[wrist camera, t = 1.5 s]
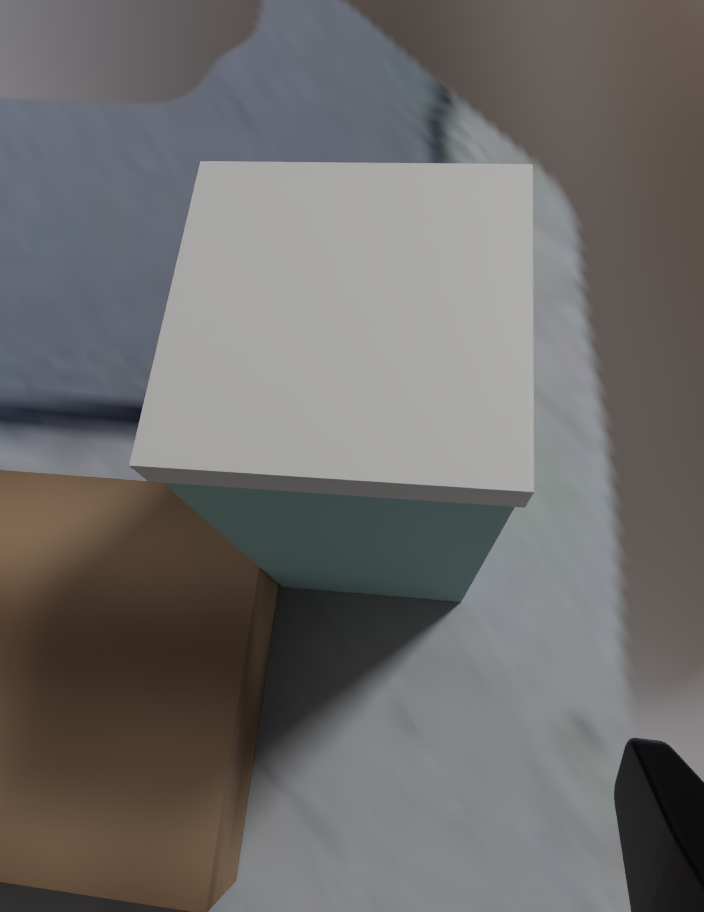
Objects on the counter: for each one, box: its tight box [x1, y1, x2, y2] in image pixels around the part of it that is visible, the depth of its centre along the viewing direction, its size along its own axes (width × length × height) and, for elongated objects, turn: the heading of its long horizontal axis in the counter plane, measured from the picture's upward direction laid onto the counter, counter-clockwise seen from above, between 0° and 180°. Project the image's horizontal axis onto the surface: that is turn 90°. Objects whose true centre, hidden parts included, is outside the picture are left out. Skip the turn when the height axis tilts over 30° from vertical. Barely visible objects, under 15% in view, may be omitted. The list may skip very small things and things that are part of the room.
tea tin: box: [129, 161, 534, 602], centre depth 16 cm, size 6×6×12 cm
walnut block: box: [0, 470, 279, 912], centre depth 19 cm, size 11×11×3 cm
